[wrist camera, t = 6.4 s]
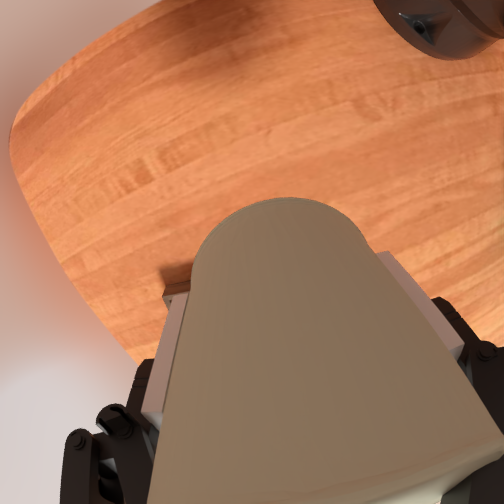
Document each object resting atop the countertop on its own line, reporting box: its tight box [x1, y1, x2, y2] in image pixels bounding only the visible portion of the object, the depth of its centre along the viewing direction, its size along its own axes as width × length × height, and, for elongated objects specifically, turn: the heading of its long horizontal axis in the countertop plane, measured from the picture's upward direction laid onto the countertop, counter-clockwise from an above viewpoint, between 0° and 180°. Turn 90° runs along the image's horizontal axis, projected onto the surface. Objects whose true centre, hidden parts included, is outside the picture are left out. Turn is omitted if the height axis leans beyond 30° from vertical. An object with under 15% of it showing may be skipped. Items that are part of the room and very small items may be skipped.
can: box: [147, 197, 504, 504], centre depth 9 cm, size 9×9×12 cm
